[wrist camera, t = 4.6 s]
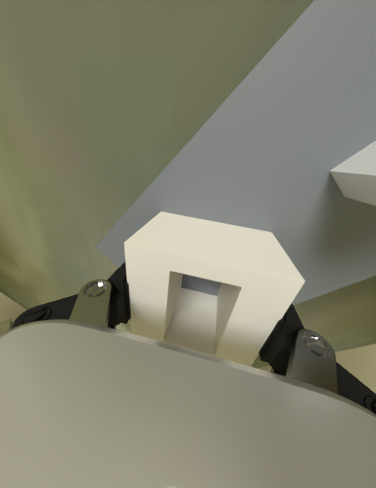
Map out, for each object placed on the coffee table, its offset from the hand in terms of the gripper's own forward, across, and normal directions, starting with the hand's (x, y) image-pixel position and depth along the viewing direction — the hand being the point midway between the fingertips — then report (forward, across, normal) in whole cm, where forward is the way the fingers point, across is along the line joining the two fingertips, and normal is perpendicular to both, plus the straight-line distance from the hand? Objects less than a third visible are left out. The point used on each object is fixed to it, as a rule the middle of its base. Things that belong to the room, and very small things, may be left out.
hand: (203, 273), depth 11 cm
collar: (+1, 0, 0) cm, 1 cm away
